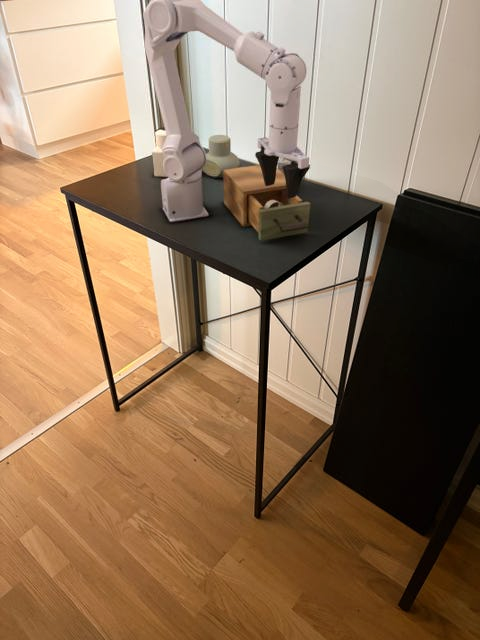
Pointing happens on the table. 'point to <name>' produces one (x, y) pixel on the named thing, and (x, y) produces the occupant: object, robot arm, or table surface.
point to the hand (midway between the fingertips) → (280, 190)
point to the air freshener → (219, 156)
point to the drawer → (277, 214)
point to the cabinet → (246, 188)
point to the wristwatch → (271, 204)
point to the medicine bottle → (159, 153)
